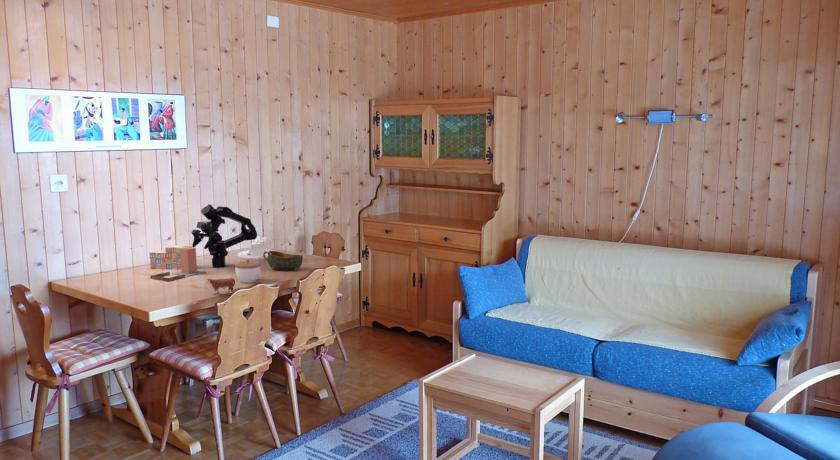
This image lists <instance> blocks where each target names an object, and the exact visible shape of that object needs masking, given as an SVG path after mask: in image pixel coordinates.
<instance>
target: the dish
mask: <svg viewBox="0 0 840 460" xmlns="http://www.w3.org/2000/svg"><path fill="white" fill-rule="evenodd" d="M266 240H267V236H260V235H257V237H256V239H254V241H253V242H252V243H251V244H250V249H248V250H242V251H239V252H237V257H238V258H243V259H265V258H264V256H263V253H264V252H266V251H267V252H269V251H277V252H280V251H278V250H277V249H271V242H270V241H266ZM265 257H266V258H267V259H268V253H266V254H265Z"/></svg>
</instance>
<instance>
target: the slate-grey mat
mask: <svg viewBox="0 0 840 460" xmlns="http://www.w3.org/2000/svg"><path fill="white" fill-rule="evenodd" d="M205 273H206V271H205V270H204V271H203V270H198V269H197V272H195V273H191V274H186V273H182V272H181V271H177V272H173V273H172V275H175V276H179V275H183V274H185V277H192V275H193V276H196V275H201V274H205Z"/></svg>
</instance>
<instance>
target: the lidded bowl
mask: <svg viewBox="0 0 840 460" xmlns="http://www.w3.org/2000/svg"><path fill="white" fill-rule="evenodd" d="M261 265H262V263H261V262H260V261H254V260H253V261H252V260H250V259H246V261H240V262H236V263H235V264H234V268H235V274H236V277H237V279H238V280H239V281H240V282H241V283H243V284H246V283H247V284H249V283H251V284H252V283H254V282H256V281H257V280H258V279H259V278H260V275H261V269H262V268H261Z"/></svg>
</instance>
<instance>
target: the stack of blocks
mask: <svg viewBox="0 0 840 460" xmlns="http://www.w3.org/2000/svg"><path fill="white" fill-rule="evenodd" d="M187 247H191V248H192V245H168V246H165V248H164V249H165V250H152V251H150V252H149V264H150V267H149V268H150V269H151V270H154V269H155V270H181V252H180V249H182V248H187Z"/></svg>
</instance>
